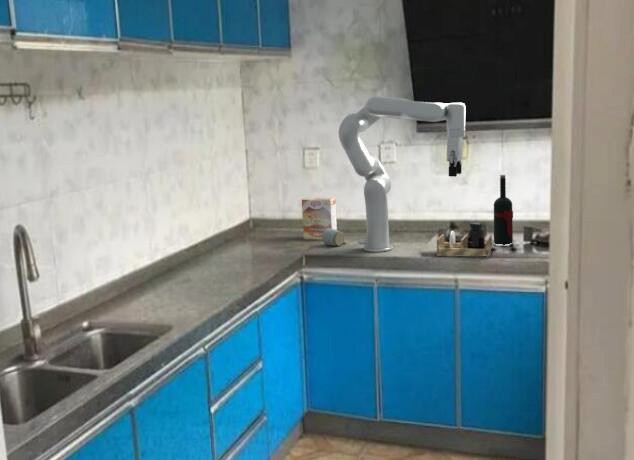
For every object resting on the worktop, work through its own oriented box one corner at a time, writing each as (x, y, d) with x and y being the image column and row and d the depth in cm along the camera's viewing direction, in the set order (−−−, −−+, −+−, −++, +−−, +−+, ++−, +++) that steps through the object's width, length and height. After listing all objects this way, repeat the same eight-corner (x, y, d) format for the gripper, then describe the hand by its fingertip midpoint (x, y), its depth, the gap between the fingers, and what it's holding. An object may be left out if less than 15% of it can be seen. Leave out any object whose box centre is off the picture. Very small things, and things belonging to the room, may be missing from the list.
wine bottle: (502, 248, 300) (502, 177, 295) (490, 244, 310) (489, 175, 305) (519, 246, 302) (519, 175, 297) (506, 242, 312) (506, 173, 307)
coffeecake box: (303, 239, 344) (301, 199, 340) (309, 236, 350) (306, 197, 347) (332, 240, 338) (330, 199, 335) (337, 237, 345) (335, 197, 341)
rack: (437, 255, 293) (436, 239, 292) (442, 249, 304) (442, 234, 303) (487, 257, 286) (487, 240, 285) (491, 250, 297) (491, 234, 295)
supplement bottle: (465, 253, 292) (464, 224, 290) (470, 249, 298) (469, 221, 296) (482, 253, 289) (481, 224, 286) (486, 250, 294) (486, 221, 292)
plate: (449, 253, 293) (449, 232, 291) (453, 249, 301) (453, 228, 299) (451, 253, 292) (451, 232, 291) (455, 249, 300) (455, 228, 299)
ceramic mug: (334, 248, 320) (334, 231, 319) (322, 246, 326) (321, 229, 325) (351, 244, 327) (350, 227, 326) (338, 242, 333) (337, 226, 332)
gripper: (450, 132, 303) (450, 172, 306) (442, 134, 287) (441, 177, 290) (468, 132, 300) (468, 172, 303) (460, 134, 284) (460, 177, 287)
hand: (455, 175), depth 297 cm, fingers open, 9 cm apart
